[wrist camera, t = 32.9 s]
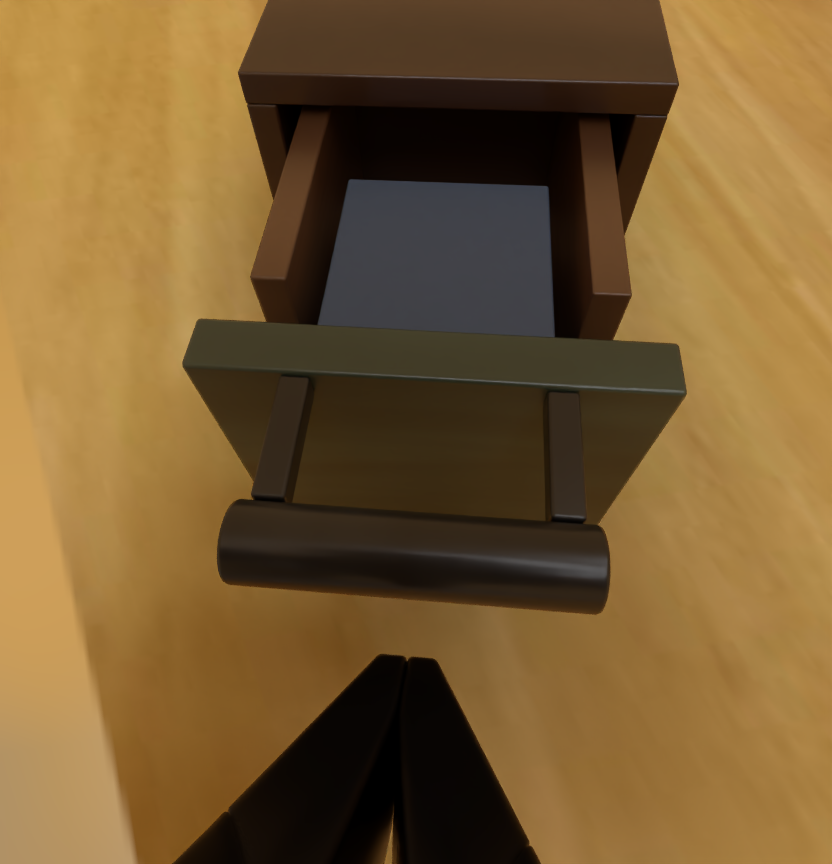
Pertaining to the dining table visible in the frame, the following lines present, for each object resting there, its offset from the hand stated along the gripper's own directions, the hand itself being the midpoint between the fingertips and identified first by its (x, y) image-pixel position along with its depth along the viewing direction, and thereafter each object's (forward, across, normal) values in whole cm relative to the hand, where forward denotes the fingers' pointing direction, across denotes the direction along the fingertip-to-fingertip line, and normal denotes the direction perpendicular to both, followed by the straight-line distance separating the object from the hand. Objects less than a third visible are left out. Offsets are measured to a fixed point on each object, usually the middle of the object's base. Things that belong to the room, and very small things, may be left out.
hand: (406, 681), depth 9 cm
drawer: (+11, 0, -2) cm, 11 cm away
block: (+10, 0, -3) cm, 11 cm away
